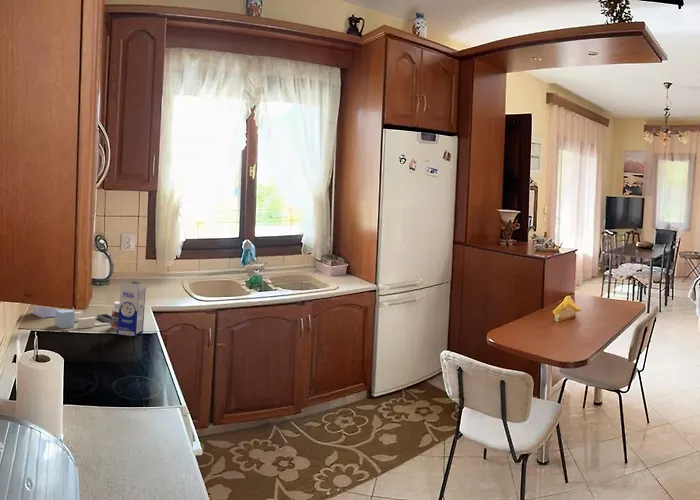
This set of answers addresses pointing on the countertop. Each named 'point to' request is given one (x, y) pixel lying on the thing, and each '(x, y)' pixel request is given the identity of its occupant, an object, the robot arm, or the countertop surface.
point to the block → (64, 318)
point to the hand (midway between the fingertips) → (45, 303)
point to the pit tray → (105, 318)
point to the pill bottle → (115, 315)
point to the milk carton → (131, 309)
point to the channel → (86, 321)
